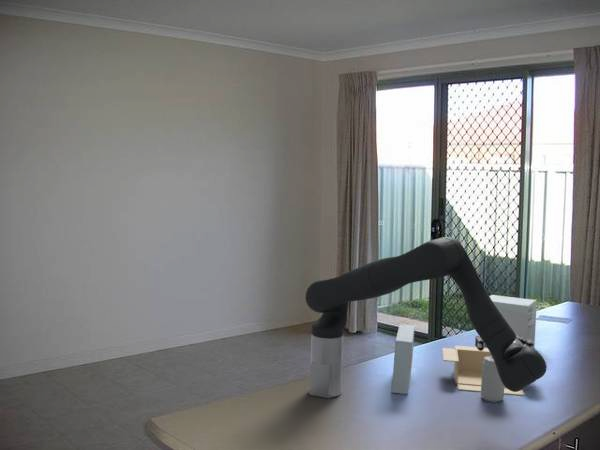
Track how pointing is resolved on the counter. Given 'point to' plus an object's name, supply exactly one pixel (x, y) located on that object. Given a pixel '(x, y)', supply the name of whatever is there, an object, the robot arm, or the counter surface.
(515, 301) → the supplement box
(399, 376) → the skincare box
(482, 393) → the beverage can
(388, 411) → the counter surface
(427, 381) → the counter surface
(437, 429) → the counter surface
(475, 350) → the carton
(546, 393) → the counter surface
